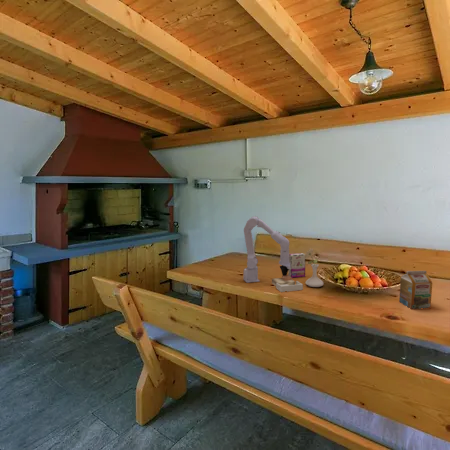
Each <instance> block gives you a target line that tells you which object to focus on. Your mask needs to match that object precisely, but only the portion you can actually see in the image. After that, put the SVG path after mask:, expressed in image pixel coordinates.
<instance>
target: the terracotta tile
mask: <svg viewBox="0 0 450 450" xmlns="http://www.w3.org/2000/svg"><path fill="white" fill-rule="evenodd" d="M281 278H282V279H283V280H285V281H286V280H291V279H292V278H291V277H290V276H289V275H288V274H287V275H285V276H283V275H281Z"/></svg>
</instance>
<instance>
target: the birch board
mask: <svg viewBox="0 0 450 450" xmlns="http://www.w3.org/2000/svg"><path fill="white" fill-rule="evenodd" d="M276 283H278V284H280V285H285V284H287V285H296V281H295V280H293V278H291V280H286V281H285V280H283V279H282V277H277V278H276V277H275V278H271V284H272V285H273V286H275V287H276Z"/></svg>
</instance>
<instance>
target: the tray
mask: <svg viewBox="0 0 450 450" xmlns="http://www.w3.org/2000/svg"><path fill="white" fill-rule="evenodd" d="M275 288H276V289H277V290H278V291H279V292H280V293H285V291H287V292H295V291H303V290H304V284H303V283H301V282H300V281H299V280H296V281H295V285H288V286H281V285H280V284H278V283H276V286H275Z"/></svg>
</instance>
